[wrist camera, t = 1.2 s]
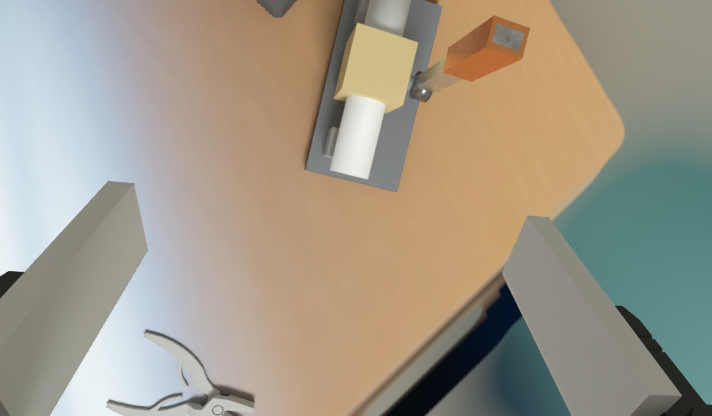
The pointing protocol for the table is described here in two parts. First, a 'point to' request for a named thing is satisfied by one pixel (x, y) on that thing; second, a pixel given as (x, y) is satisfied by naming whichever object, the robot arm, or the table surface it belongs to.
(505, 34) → the valve lever
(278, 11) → the walkie-talkie
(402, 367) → the table surface
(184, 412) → the pliers
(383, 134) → the valve rig
